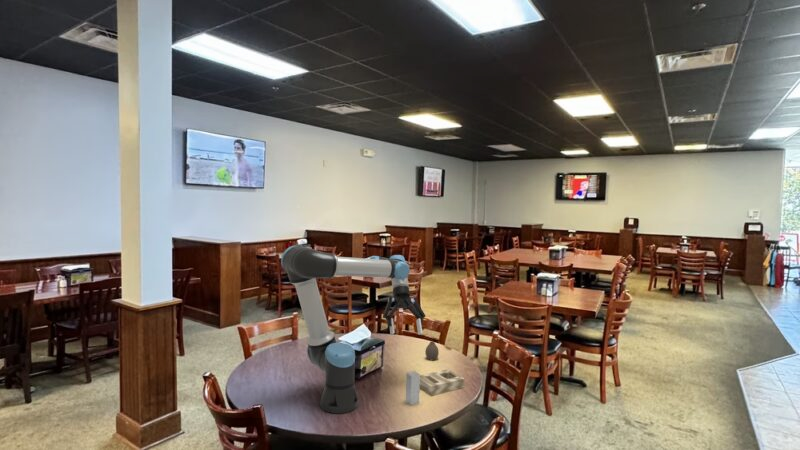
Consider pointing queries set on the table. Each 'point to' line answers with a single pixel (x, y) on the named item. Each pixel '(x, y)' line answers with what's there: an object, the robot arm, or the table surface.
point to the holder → (440, 382)
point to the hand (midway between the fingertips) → (406, 333)
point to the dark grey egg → (431, 351)
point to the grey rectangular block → (412, 387)
